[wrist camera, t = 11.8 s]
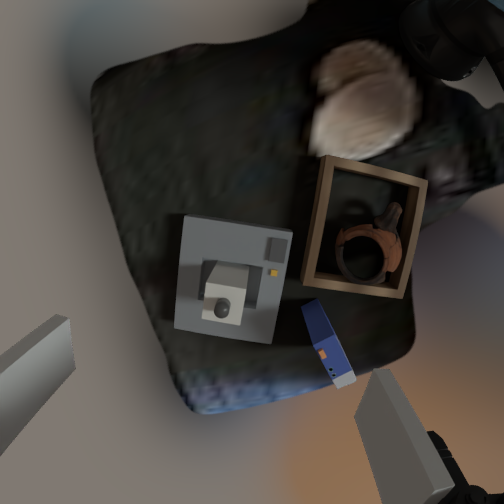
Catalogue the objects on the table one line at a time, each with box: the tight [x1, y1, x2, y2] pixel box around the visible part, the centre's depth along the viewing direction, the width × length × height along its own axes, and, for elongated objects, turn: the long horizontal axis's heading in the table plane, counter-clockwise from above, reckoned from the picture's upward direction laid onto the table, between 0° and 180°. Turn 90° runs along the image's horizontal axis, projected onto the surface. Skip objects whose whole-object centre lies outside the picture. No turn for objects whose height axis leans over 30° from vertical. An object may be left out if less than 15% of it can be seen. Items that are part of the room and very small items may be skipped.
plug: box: [202, 260, 249, 326], centre depth 38 cm, size 4×4×12 cm
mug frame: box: [300, 155, 428, 299], centre depth 40 cm, size 15×17×4 cm
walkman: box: [301, 299, 357, 389], centre depth 40 cm, size 8×3×12 cm, turn 29°
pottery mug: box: [335, 202, 402, 285], centre depth 40 cm, size 12×10×8 cm
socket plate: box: [174, 214, 293, 344], centre depth 42 cm, size 14×16×4 cm
